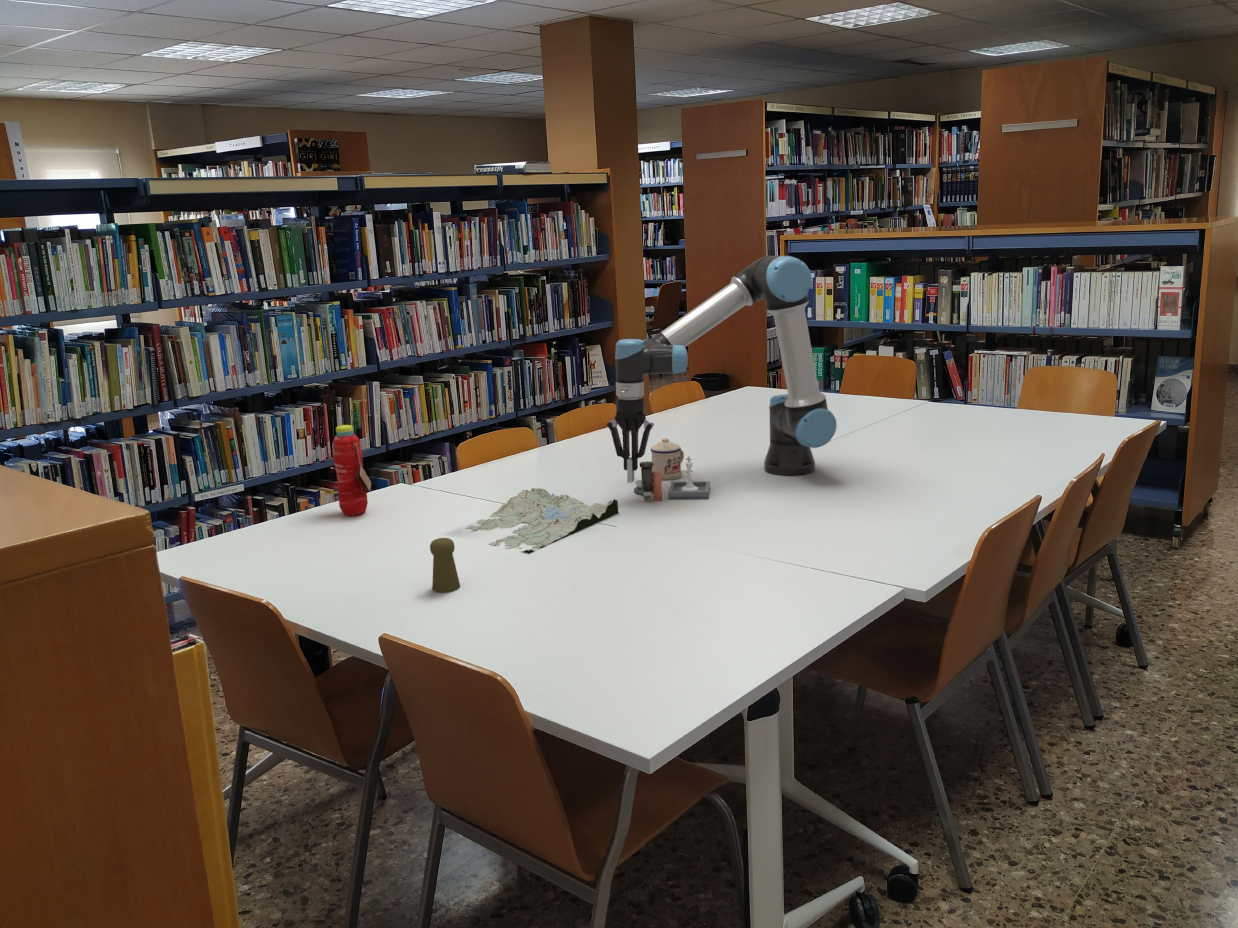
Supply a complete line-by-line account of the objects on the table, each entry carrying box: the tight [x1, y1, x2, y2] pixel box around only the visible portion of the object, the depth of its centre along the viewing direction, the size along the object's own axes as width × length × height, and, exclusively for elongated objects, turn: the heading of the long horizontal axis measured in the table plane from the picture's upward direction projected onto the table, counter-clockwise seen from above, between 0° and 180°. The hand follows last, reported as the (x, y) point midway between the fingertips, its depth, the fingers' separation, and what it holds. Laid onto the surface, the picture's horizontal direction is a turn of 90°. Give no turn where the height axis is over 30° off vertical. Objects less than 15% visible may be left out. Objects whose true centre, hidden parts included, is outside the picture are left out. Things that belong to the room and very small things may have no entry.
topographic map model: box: [465, 487, 620, 555], centre depth 242 cm, size 36×29×5 cm
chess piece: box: [681, 455, 699, 491], centre depth 261 cm, size 5×5×10 cm
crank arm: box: [635, 460, 653, 497], centre depth 261 cm, size 13×4×9 cm, turn 5°
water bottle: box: [332, 424, 372, 517], centre depth 255 cm, size 12×8×25 cm, turn 52°
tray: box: [667, 480, 711, 500], centre depth 262 cm, size 11×11×2 cm
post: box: [652, 471, 663, 502], centre depth 257 cm, size 2×2×8 cm
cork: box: [429, 537, 461, 594], centre depth 201 cm, size 6×6×11 cm
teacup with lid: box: [650, 437, 685, 481], centre depth 281 cm, size 12×9×12 cm
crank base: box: [633, 486, 653, 496], centre depth 266 cm, size 6×6×1 cm
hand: (630, 481), depth 257 cm, fingers closed
